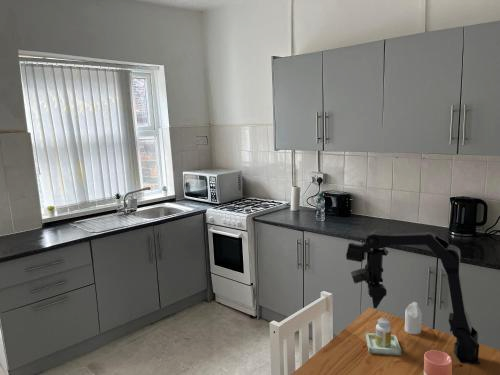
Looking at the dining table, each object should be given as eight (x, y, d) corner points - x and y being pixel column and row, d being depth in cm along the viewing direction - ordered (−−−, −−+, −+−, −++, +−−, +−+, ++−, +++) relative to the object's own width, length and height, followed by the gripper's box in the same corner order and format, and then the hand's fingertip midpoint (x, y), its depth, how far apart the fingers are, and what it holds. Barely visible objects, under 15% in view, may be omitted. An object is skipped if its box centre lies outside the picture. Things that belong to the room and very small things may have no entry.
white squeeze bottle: (406, 305, 146) (404, 298, 152) (405, 333, 148) (403, 326, 154) (423, 306, 145) (420, 299, 150) (422, 335, 147) (419, 327, 152)
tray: (395, 339, 144) (395, 334, 144) (401, 355, 134) (401, 350, 134) (365, 337, 146) (365, 332, 146) (369, 353, 136) (369, 348, 136)
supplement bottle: (390, 341, 142) (390, 317, 140) (391, 349, 137) (392, 325, 135) (374, 339, 143) (375, 316, 142) (375, 348, 138) (376, 323, 137)
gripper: (350, 255, 154) (349, 290, 157) (355, 272, 136) (354, 313, 139) (378, 256, 153) (377, 292, 155) (387, 274, 134) (385, 314, 137)
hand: (373, 302), depth 147 cm, fingers open, 9 cm apart
